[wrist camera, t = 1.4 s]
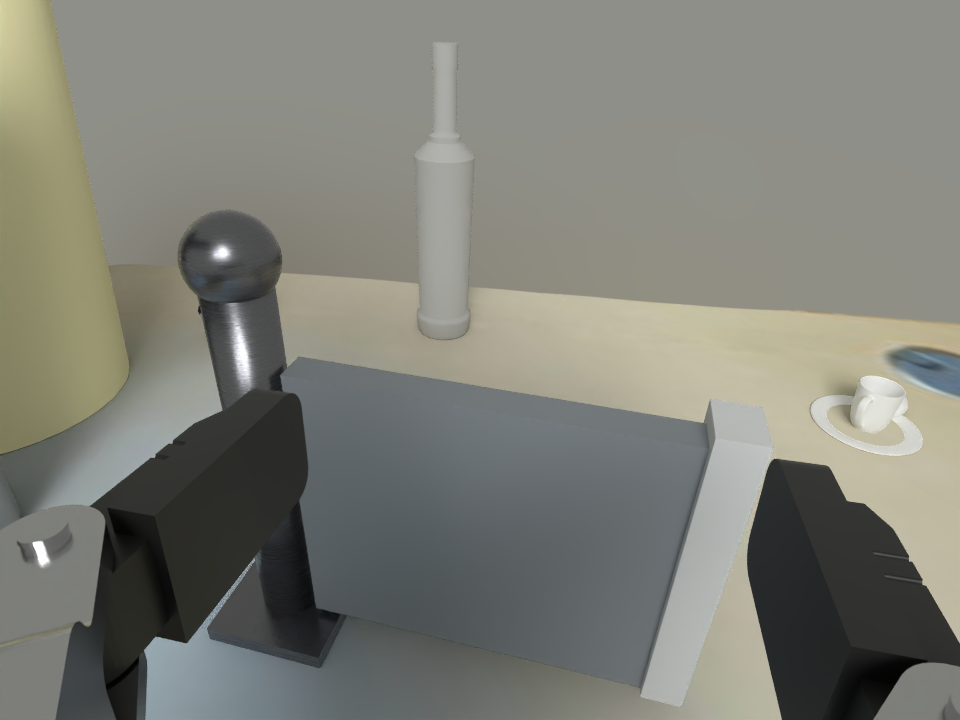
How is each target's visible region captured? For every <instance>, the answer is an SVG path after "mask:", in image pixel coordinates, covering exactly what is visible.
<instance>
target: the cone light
mask: <svg viewBox="0 0 960 720" xmlns="http://www.w3.org/2000/svg"><path fill="white" fill-rule="evenodd" d="M129 369H130V365H129V360H128V355H127V351H126V346H125V341H124V337H123V332H122V328H121V323H120V318H119V314H118V309H117V305H116V300H115V295H114V291H113V286H112V281H111V277H110V272H109V268H108V263H107V258H106V254H105V249H104V245H103V240H102V236H101V231H100V226H99V222H98V217H97V212H96V208H95V203H94V199H93V194H92V189H91V185H90V180H89V176H88V171H87V166H86V162H85V157H84V153H83V148H82V143H81V139H80V134H79V130H78V125H77V121H76V115H75V111H74V107H73V102H72V97H71V92H70V88H69V83H68V79H67V74H66V69H65V65H64V61H63V56H62V51H61V47H60V42H59V37H58V33H57V28H56V23H55V19H54V14H53V9H52V5H51V0H0V454H4V453H7V452H11V451H14V450H17V449H20V448H23V447H26V446H29V445H32V444H34V443H37V442H40V441H42V440H44V439H47V438H49V437H51V436H54V435H56V434H58V433H61V432H63V431H65V430H67V429H68V428H70V427H72V426H74V425H76V424H78V423H80V422H81V421H83V420H85V419H86V418H88V417H89V416H91V415H92V414H94V413H95V412H97V411H98V410H100V409H101V408H102V407H104V406H105V405H106V404H107V403H108V402H109V401H110V400H112V399H113V398H114V397H115V396H116V395H117V393H118V392H119V391H120V390H121V388H122V387H123V386H124V384H125V382H126V380H127V378H128V376H129Z"/></svg>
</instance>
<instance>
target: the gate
mask: <svg viewBox="0 0 960 720" xmlns="http://www.w3.org/2000/svg"><path fill="white" fill-rule="evenodd" d="M280 377H281V384H282V390H283V392H288V393H294V394H296V395H297V396H298V397H299V399H300V402H301V406H302V414H303V423H304V431H305V440H306V449H307V458H308V478H307V483H306V487H305V490H304V492H303V494H302V496H301V498H300V506H301V513H302V519H303V526H304V532H305V539H306V545H307V552H308V558H309V565H310V571H311V578H312V584H313V591H314V597H315V603H316V608H319V609H323V610H327V611H331V612H335V613H339V614H343V615H348V616H352V617H356V618H360V619H364V620H368V621H372V622H376V623H380V624H384V625H388V626H392V627H396V628H400V629H404V630H408V631H412V632H416V633H420V634H424V635H429V636H433V637H437V638H441V639H445V640H449V641H453V642H457V643H461V644H465V645H469V646H473V647H477V648H481V649H485V650H489V651H493V652H497V653H501V654H505V655H510V656H514V657H518V658H522V659H526V660H530V661H534V662H538V663H542V664H546V665H550V666H554V667H558V668H562V669H566V670H570V671H574V672H578V673H582V674H586V675H591V676H595V677H599V678H603V679H607V680H611V681H615V682H619V683H623V684H627V685H631V686H635V687H639V688H640V697H642V698H646V699H650V700H654V701H658V702H662V703H666V704H670V705H674V706H678V707H682V704H683V701H684V698H685V695H686V692H687V690H688V687H689V684H690V681H691V678H692V676H693V673H694V670H695V667H696V664H697V662H698V659H699V656H700V653H701V650H702V648H703V645H704V642H705V639H706V636H707V634H708V631H709V628H710V625H711V622H712V619H713V617H714V614H715V611H716V608H717V605H718V603H719V600H720V597H721V594H722V591H723V589H724V586H725V583H726V580H727V577H728V575H729V572H730V569H731V566H732V563H733V561H734V558H735V555H736V552H737V549H738V547H739V544H740V541H741V538H742V535H743V532H744V530H745V527H746V524H747V521H748V518H749V516H750V513H751V510H752V507H753V504H754V502H755V499H756V496H757V493H758V490H759V488H760V485H761V482H762V479H763V476H764V474H765V471H766V468H767V465H768V462H769V459H770V457H771V454H772V451H773V448H774V447H773V444H772V440H771V436H770V432H769V429H768V425H767V421H766V418H765V414H764V410H763V407H759V406H753V405H747V404H740V403H734V402H727V401H721V400H715V399H710V402H709V406H708V409H707V413H706V416H705V420H704V423H699V422H693V421H687V420H681V419H675V418H669V417H663V416H656V415H650V414H644V413H638V412H632V411H626V410H620V409H614V408H608V407H602V406H596V405H590V404H584V403H577V402H571V401H565V400H559V399H553V398H547V397H541V396H535V395H529V394H523V393H517V392H511V391H504V390H498V389H492V388H486V387H480V386H474V385H468V384H462V383H456V382H450V381H444V380H438V379H432V378H425V377H419V376H413V375H407V374H401V373H395V372H389V371H383V370H377V369H371V368H365V367H359V366H353V365H346V364H340V363H334V362H328V361H322V360H316V359H310V358H304V357H298V358H297V359H296V360H295V361H294V362H293V363H292V364H291V365H290V366H289V367H288V368H287V369H286V370H285V371H284V372H283V373H282V374H281V375H280Z"/></svg>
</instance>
